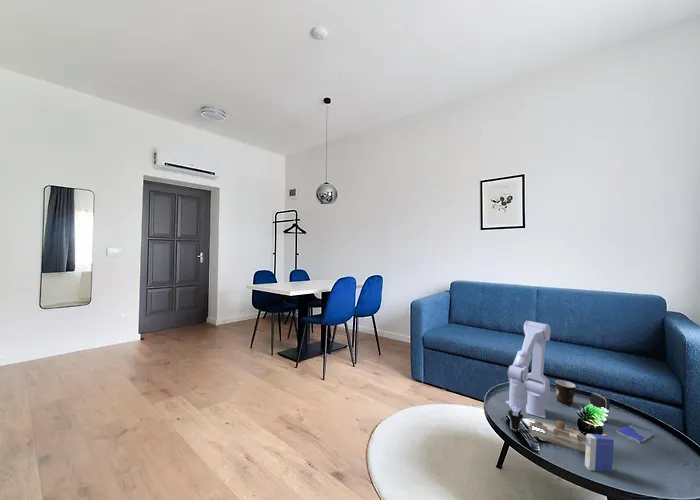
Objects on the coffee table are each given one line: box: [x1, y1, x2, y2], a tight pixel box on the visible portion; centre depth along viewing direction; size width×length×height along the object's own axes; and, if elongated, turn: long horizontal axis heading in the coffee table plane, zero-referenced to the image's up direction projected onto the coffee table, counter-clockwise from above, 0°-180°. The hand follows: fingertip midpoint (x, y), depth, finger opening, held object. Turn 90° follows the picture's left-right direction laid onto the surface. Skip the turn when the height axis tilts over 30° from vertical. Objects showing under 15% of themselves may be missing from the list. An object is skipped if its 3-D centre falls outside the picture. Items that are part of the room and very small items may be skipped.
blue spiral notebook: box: [615, 425, 645, 443], centre depth 138 cm, size 2×8×12 cm
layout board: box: [528, 417, 586, 453], centre depth 134 cm, size 14×24×4 cm, turn 61°
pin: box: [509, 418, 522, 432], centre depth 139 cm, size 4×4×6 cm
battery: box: [589, 392, 611, 423], centre depth 149 cm, size 7×4×11 cm, turn 13°
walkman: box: [584, 433, 615, 473], centre depth 115 cm, size 8×3×12 cm, turn 86°
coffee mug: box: [555, 379, 576, 406], centre depth 162 cm, size 12×9×10 cm
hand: (515, 424), depth 139 cm, fingers open, 6 cm apart
